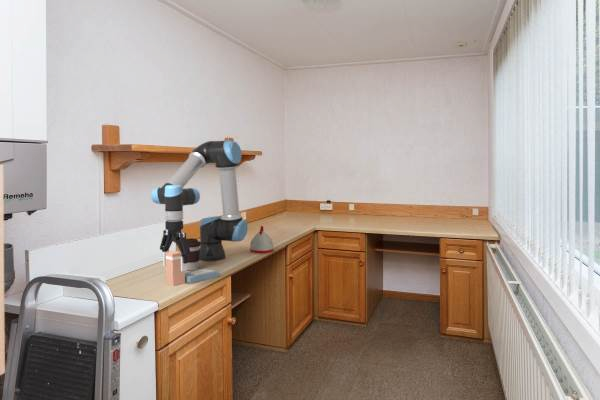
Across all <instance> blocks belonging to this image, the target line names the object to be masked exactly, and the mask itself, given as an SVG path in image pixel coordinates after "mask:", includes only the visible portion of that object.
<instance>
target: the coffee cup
mask: <svg viewBox="0 0 600 400" xmlns="http://www.w3.org/2000/svg"><path fill="white" fill-rule="evenodd" d="M187 242H188V245H189V248H190V252H191V254H190V255H188V263H187V270H186V271H187V272H190V271H194V270H199V269H200V268H199V264H200V260H199V256H200V249H199V248H200V245H201V242H200V240H198V239H197V238H187Z"/></svg>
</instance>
